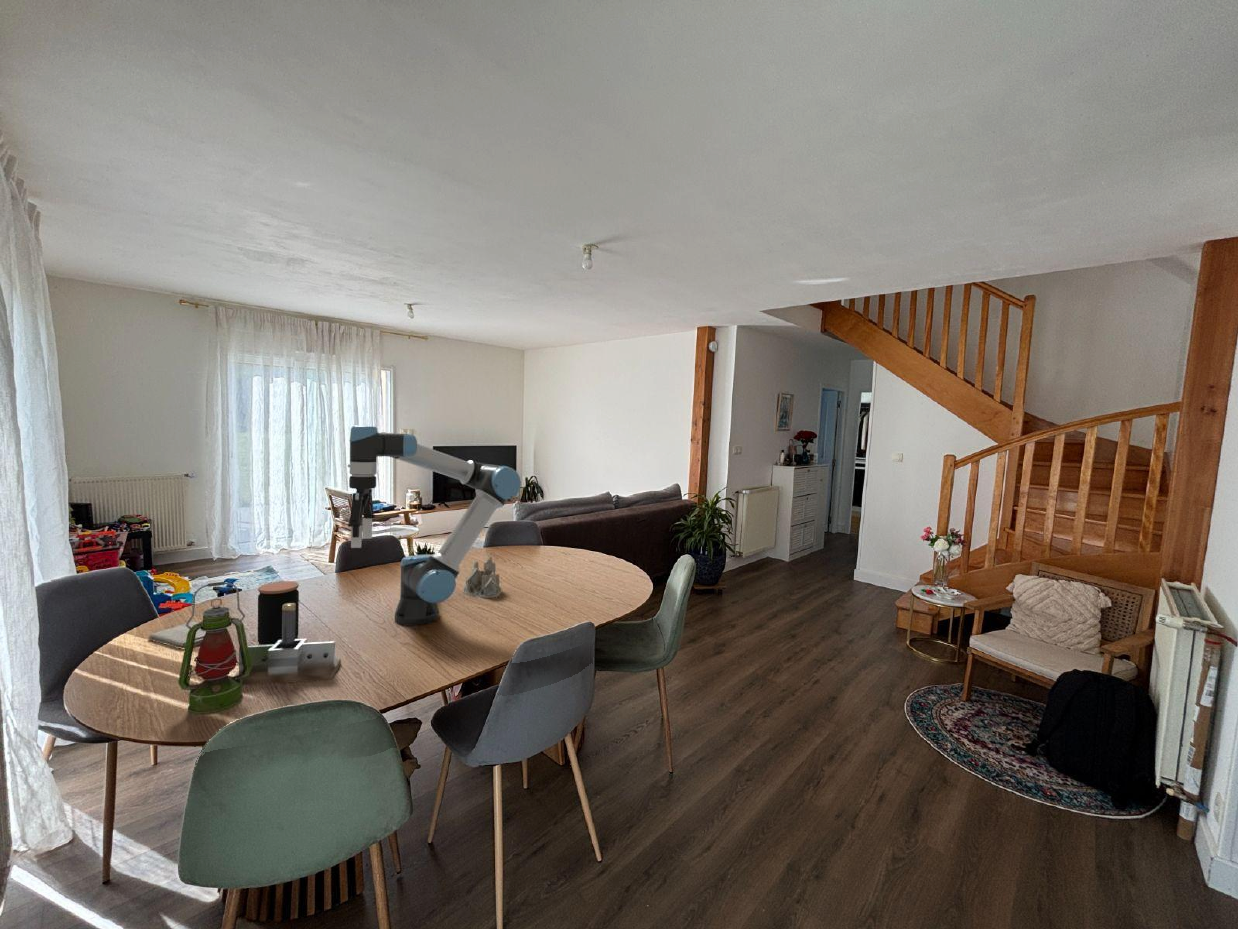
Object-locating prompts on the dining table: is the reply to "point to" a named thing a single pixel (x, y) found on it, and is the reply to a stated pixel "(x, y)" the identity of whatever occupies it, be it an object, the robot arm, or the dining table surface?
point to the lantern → (214, 661)
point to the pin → (288, 625)
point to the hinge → (290, 657)
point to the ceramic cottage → (483, 581)
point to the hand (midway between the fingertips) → (361, 542)
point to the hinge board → (301, 676)
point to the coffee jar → (275, 610)
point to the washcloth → (178, 635)
